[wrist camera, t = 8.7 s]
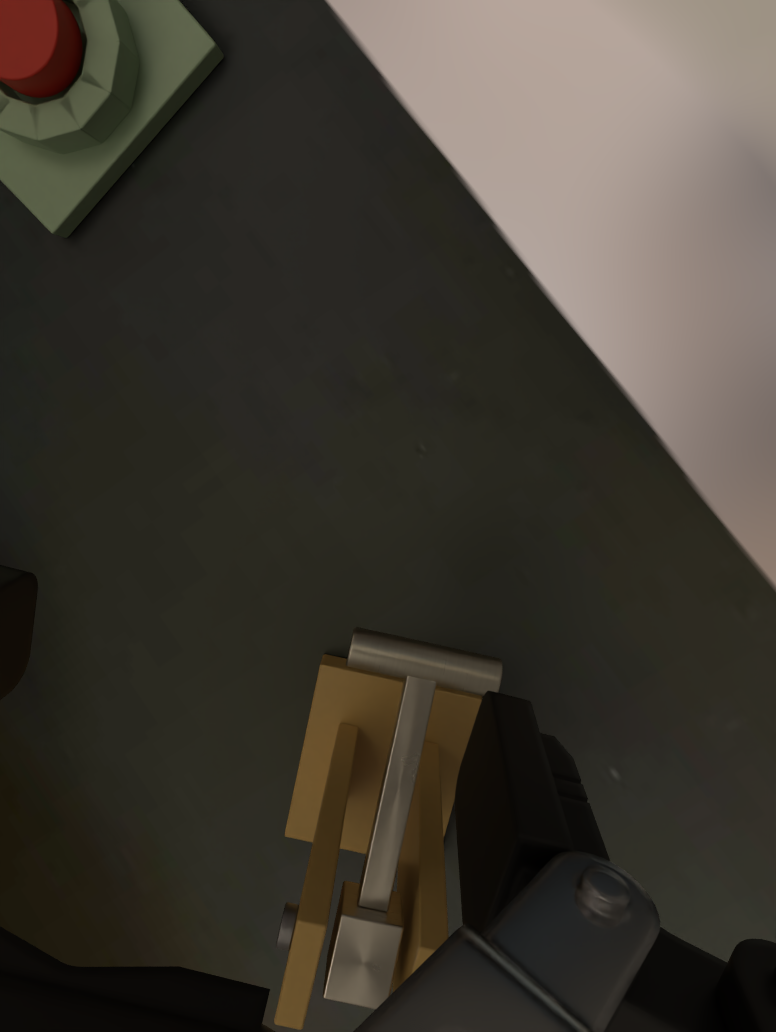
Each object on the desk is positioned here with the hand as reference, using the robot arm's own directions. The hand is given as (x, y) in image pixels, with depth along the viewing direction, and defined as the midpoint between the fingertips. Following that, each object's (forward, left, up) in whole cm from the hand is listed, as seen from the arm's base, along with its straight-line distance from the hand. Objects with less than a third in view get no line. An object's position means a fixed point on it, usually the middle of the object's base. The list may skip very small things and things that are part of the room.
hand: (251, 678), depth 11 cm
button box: (-3, -20, -20) cm, 28 cm away
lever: (+6, +9, -11) cm, 16 cm away
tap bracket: (+9, +12, -20) cm, 24 cm away
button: (-3, -20, -17) cm, 26 cm away
